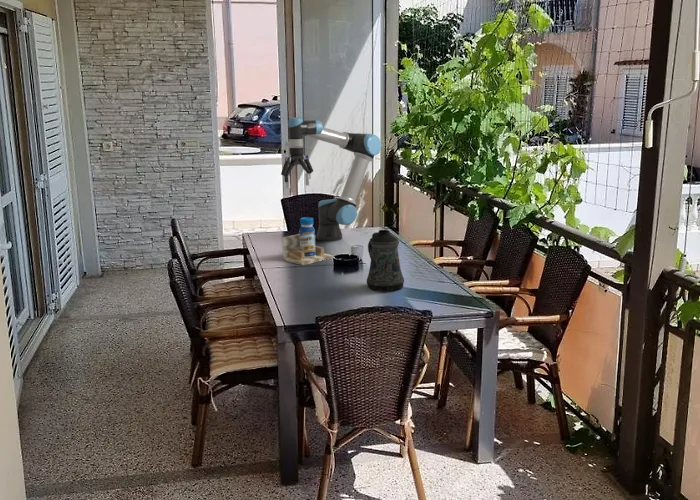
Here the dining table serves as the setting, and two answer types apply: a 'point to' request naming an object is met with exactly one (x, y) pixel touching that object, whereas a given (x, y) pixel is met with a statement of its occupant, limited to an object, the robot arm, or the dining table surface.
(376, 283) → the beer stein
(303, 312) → the dining table surface
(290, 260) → the wooden display stand
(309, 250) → the beverage bottle
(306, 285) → the dining table surface
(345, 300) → the dining table surface
